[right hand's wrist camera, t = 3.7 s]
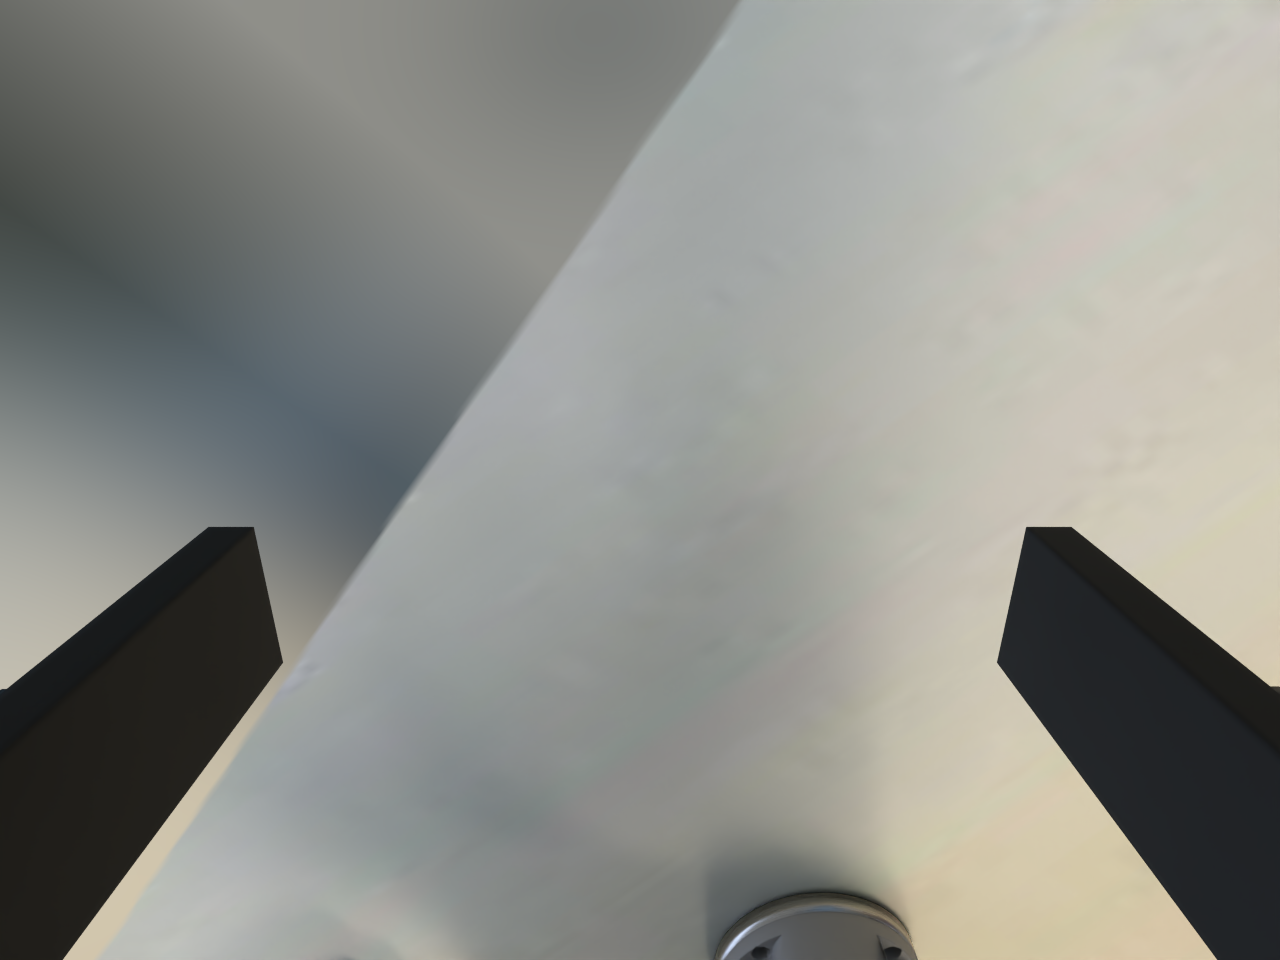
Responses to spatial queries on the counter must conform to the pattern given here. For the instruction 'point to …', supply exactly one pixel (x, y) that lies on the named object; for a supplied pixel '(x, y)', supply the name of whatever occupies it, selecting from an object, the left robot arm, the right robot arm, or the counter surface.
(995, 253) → the counter surface
